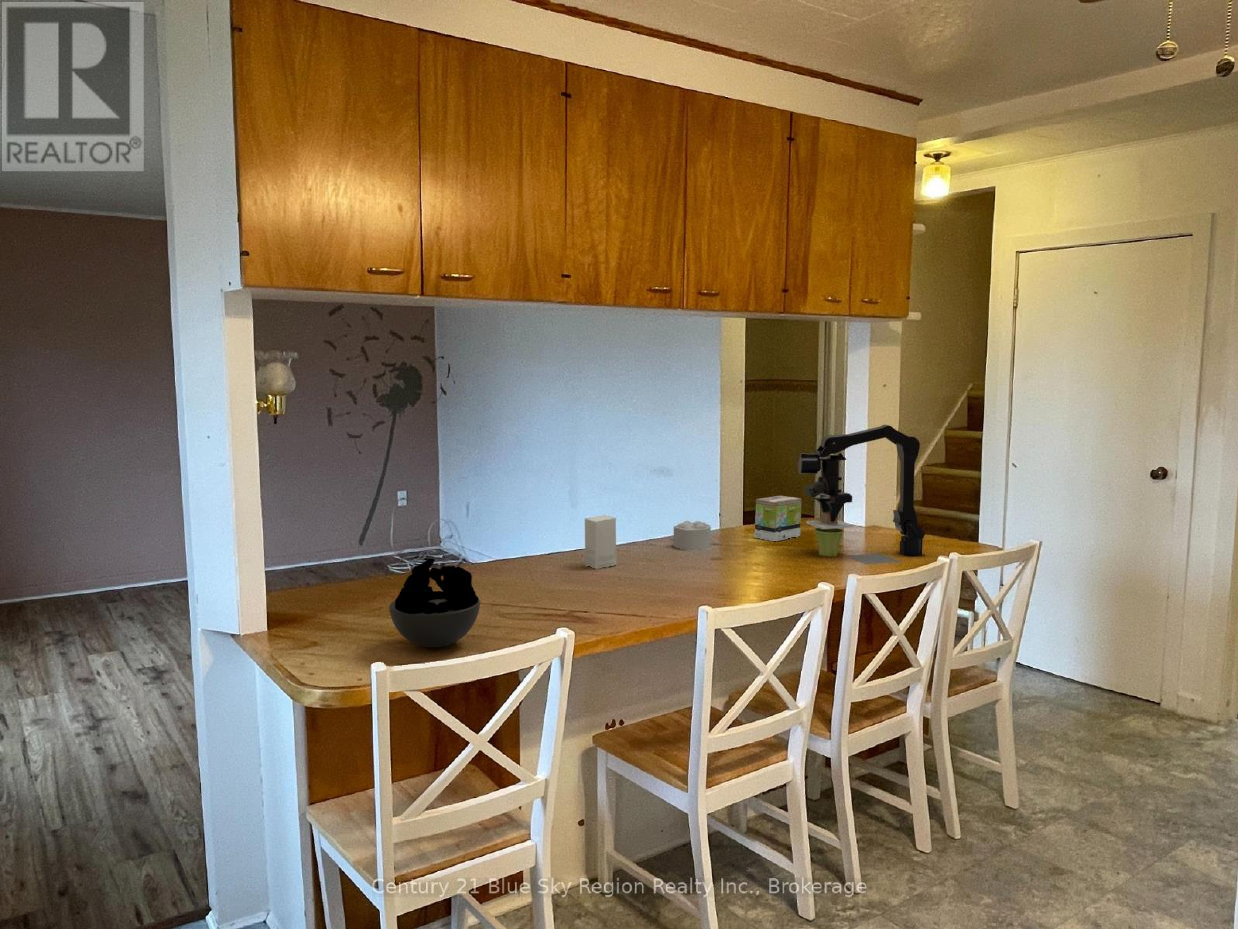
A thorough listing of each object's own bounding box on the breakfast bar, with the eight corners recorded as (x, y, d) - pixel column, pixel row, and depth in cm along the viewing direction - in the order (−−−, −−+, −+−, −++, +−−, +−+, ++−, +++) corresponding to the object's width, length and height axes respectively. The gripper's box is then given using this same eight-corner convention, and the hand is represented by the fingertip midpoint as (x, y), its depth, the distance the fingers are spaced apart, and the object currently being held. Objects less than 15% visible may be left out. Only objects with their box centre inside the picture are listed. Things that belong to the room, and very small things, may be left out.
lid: (835, 521, 298) (835, 509, 297) (852, 527, 287) (853, 514, 287) (806, 523, 295) (806, 511, 294) (822, 529, 284) (822, 516, 284)
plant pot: (840, 552, 296) (841, 527, 295) (844, 558, 287) (845, 532, 286) (812, 552, 297) (812, 527, 296) (815, 558, 288) (816, 532, 287)
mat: (879, 554, 294) (879, 553, 293) (902, 562, 281) (902, 561, 281) (844, 556, 290) (844, 555, 290) (866, 565, 278) (866, 564, 277)
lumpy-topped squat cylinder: (669, 546, 308) (670, 521, 307) (699, 542, 315) (700, 518, 314) (687, 551, 299) (687, 526, 298) (717, 547, 306) (717, 522, 305)
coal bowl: (467, 661, 188) (465, 575, 186) (377, 659, 190) (374, 574, 188) (490, 633, 208) (488, 555, 206) (407, 631, 210) (405, 554, 208)
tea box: (776, 542, 314) (776, 501, 312) (753, 538, 321) (754, 498, 320) (801, 537, 324) (802, 497, 322) (779, 533, 331) (779, 494, 330)
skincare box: (605, 562, 283) (605, 514, 281) (617, 566, 277) (617, 517, 276) (583, 566, 278) (583, 517, 276) (595, 570, 272) (595, 520, 271)
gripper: (794, 471, 296) (794, 517, 298) (822, 478, 278) (821, 526, 280) (824, 470, 299) (823, 515, 301) (853, 476, 281) (852, 524, 283)
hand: (829, 520), depth 291 cm, fingers closed on lid, 4 cm apart
